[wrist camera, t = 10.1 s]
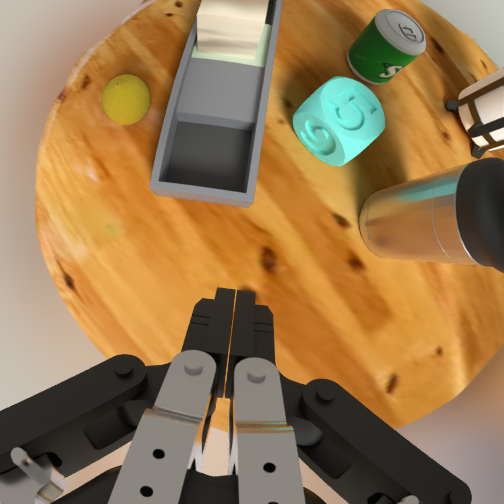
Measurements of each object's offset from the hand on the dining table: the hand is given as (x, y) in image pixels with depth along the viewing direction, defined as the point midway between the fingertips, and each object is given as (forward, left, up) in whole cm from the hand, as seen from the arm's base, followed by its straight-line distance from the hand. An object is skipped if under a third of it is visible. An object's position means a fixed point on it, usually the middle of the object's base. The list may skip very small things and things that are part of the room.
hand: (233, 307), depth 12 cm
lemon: (+10, -19, -23) cm, 31 cm away
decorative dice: (-14, -17, -23) cm, 32 cm away
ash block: (-2, -29, -19) cm, 35 cm away
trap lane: (-1, -25, -22) cm, 33 cm away
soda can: (-22, -29, -23) cm, 43 cm away
